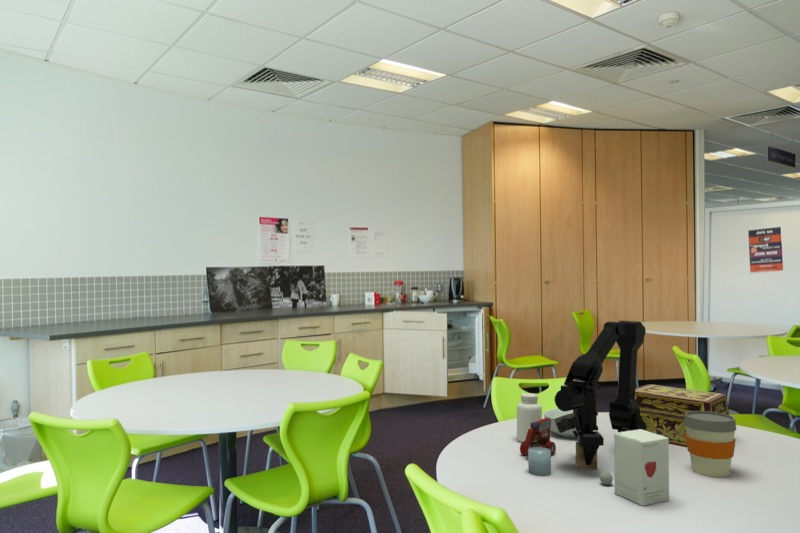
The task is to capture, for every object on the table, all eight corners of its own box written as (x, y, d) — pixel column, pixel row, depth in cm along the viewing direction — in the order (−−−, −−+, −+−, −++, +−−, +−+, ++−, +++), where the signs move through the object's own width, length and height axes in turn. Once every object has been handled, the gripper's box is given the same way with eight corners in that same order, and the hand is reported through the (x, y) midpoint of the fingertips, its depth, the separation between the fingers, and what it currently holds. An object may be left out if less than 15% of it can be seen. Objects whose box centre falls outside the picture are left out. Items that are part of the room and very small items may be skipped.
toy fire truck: (515, 457, 167) (515, 422, 167) (539, 448, 175) (538, 414, 175) (536, 462, 162) (535, 426, 162) (559, 453, 170) (558, 418, 170)
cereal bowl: (554, 425, 202) (554, 405, 202) (602, 432, 192) (601, 411, 193) (536, 436, 188) (536, 415, 189) (586, 444, 179) (586, 422, 179)
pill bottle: (542, 445, 178) (542, 397, 179) (516, 443, 180) (516, 396, 180) (541, 438, 186) (541, 392, 186) (516, 436, 188) (516, 391, 188)
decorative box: (623, 435, 189) (623, 390, 190) (647, 424, 202) (646, 383, 202) (712, 453, 169) (712, 403, 170) (732, 440, 182) (731, 394, 182)
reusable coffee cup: (731, 466, 157) (730, 412, 157) (742, 481, 145) (741, 423, 146) (681, 461, 161) (680, 409, 162) (688, 476, 149) (687, 419, 150)
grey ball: (612, 482, 145) (612, 470, 145) (612, 487, 142) (612, 474, 142) (599, 481, 146) (599, 469, 146) (599, 485, 143) (599, 473, 143)
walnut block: (594, 463, 160) (593, 442, 160) (597, 469, 155) (597, 447, 156) (576, 462, 161) (575, 441, 161) (578, 468, 156) (578, 447, 156)
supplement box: (642, 507, 130) (641, 442, 130) (613, 493, 138) (612, 432, 139) (670, 500, 134) (669, 437, 134) (641, 487, 142) (640, 428, 142)
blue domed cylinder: (551, 469, 156) (551, 448, 156) (550, 477, 150) (549, 454, 150) (529, 467, 158) (529, 446, 158) (527, 474, 152) (527, 452, 152)
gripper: (552, 398, 169) (553, 450, 169) (560, 413, 151) (560, 471, 150) (591, 399, 167) (592, 452, 167) (603, 414, 149) (604, 473, 149)
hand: (586, 461), depth 158 cm, fingers closed on walnut block, 5 cm apart
